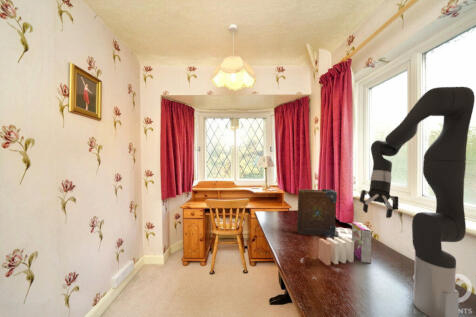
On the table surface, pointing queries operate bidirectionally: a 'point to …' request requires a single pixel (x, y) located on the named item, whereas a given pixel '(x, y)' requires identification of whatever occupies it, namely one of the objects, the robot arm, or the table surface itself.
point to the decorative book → (316, 212)
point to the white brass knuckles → (344, 233)
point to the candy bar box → (362, 241)
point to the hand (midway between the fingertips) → (376, 215)
